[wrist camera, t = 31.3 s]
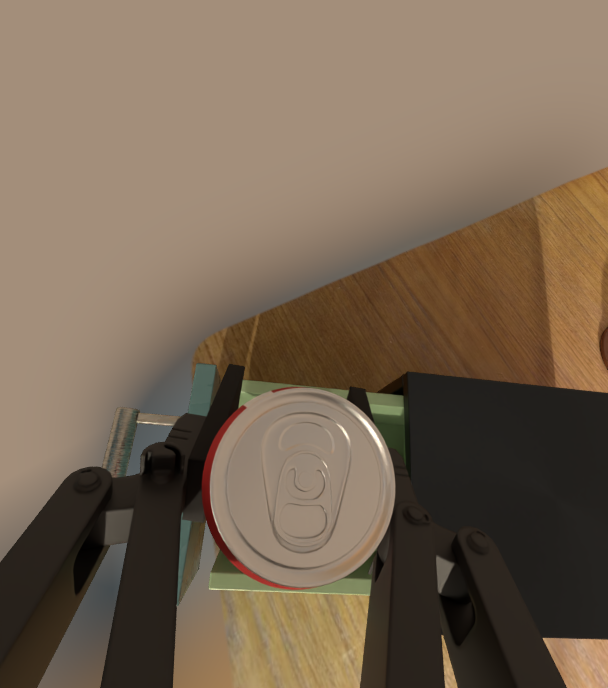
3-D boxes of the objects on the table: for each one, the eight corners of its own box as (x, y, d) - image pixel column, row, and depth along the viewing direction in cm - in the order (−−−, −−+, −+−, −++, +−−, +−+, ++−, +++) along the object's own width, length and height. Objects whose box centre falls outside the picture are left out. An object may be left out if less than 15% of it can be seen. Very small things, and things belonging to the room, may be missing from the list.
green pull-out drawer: (105, 565, 24) (45, 602, 17) (146, 385, 29) (111, 353, 22) (411, 579, 27) (472, 616, 20) (406, 410, 31) (453, 389, 24)
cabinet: (361, 583, 27) (416, 634, 18) (362, 401, 32) (407, 371, 23) (577, 592, 29) (724, 643, 20) (548, 419, 34) (656, 398, 25)
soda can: (323, 434, 21) (405, 383, 10) (319, 535, 19) (415, 611, 8) (232, 427, 21) (212, 365, 9) (219, 531, 19) (174, 604, 8)
